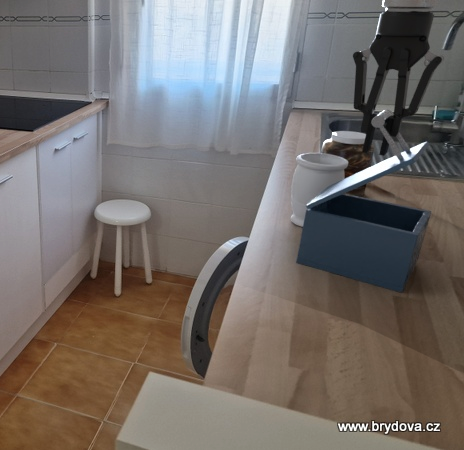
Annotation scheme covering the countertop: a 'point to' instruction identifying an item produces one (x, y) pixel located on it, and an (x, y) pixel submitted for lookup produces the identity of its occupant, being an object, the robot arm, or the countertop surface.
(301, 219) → the jar
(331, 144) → the jar
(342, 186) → the lid
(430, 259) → the countertop surface
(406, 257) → the blue lidded box
